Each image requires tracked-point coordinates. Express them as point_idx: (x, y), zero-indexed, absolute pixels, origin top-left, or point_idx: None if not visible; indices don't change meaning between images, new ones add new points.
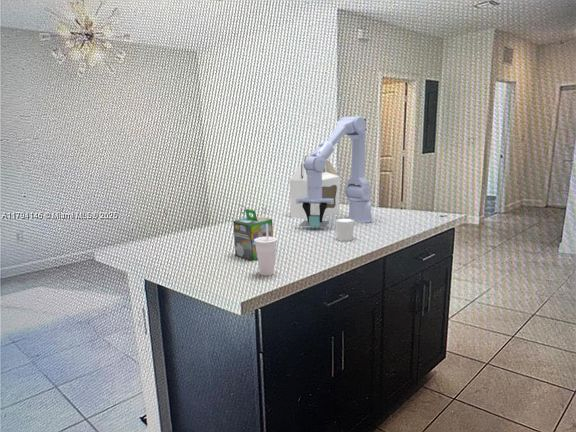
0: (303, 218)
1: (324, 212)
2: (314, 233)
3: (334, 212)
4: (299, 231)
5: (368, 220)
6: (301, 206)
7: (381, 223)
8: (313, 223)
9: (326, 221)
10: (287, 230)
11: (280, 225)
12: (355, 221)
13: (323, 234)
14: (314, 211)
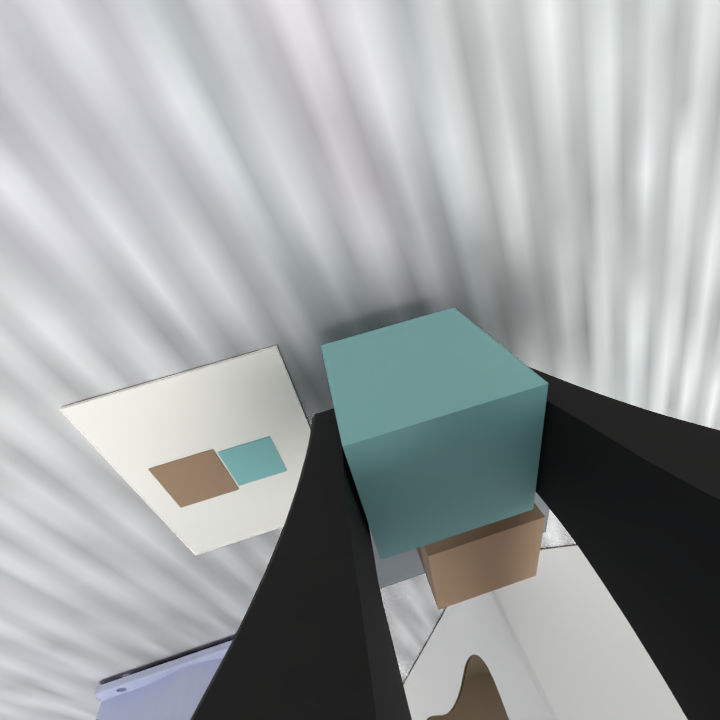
0: (556, 554)
1: (452, 660)
2: (324, 196)
3: (413, 684)
4: (532, 222)
5: (111, 702)
6: (641, 650)
7: (10, 709)
8: (412, 345)
9: (389, 575)
10: (666, 211)
11: (712, 362)
12: (195, 656)
13: (175, 190)
14: (516, 635)
